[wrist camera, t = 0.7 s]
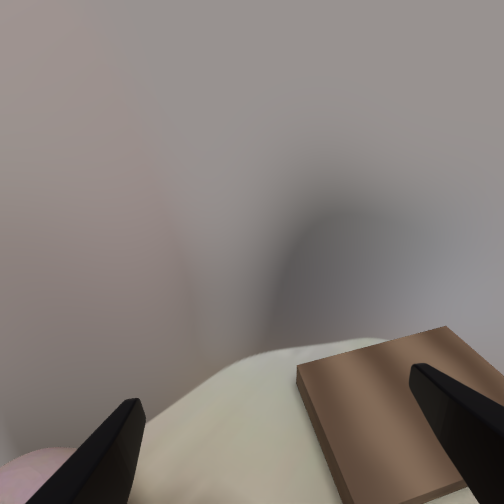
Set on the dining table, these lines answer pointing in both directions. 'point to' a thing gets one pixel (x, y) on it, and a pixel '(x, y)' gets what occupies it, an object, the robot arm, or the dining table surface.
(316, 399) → the walnut base board
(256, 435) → the dining table surface
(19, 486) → the decorative fruit
